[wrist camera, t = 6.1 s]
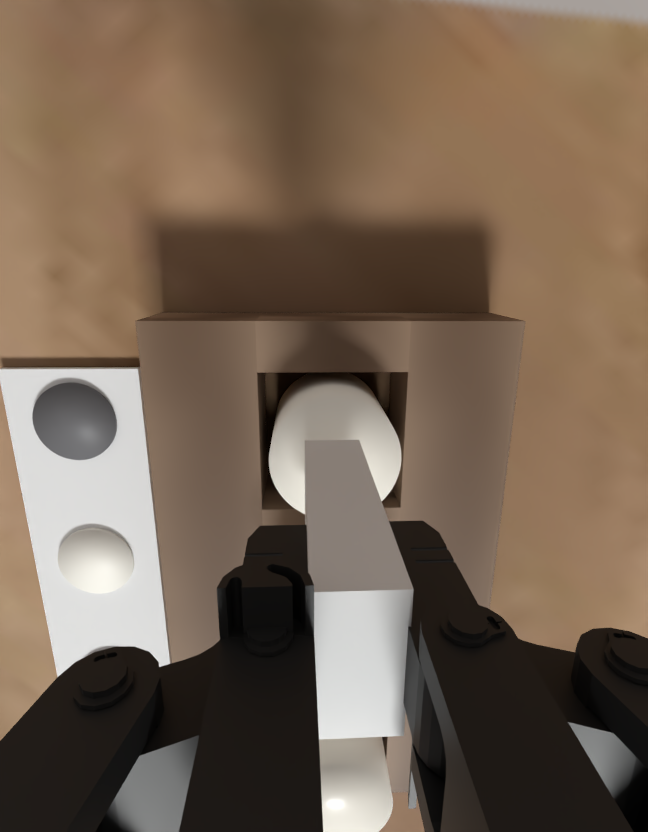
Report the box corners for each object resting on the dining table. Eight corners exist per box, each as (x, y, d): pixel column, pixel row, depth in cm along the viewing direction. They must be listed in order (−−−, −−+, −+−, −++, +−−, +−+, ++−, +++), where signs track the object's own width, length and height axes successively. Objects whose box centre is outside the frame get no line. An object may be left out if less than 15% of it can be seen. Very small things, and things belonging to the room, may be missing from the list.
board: (201, 735, 23) (186, 801, 20) (162, 312, 17) (135, 320, 15) (447, 726, 24) (467, 789, 21) (489, 313, 18) (525, 321, 15)
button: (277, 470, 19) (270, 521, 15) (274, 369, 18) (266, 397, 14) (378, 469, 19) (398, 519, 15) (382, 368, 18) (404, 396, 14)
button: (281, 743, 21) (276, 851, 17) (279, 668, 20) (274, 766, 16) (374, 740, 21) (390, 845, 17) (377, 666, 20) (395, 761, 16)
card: (67, 707, 22) (62, 716, 22) (2, 367, 18) (-6, 370, 17) (176, 703, 23) (173, 712, 22) (140, 367, 18) (136, 369, 18)
